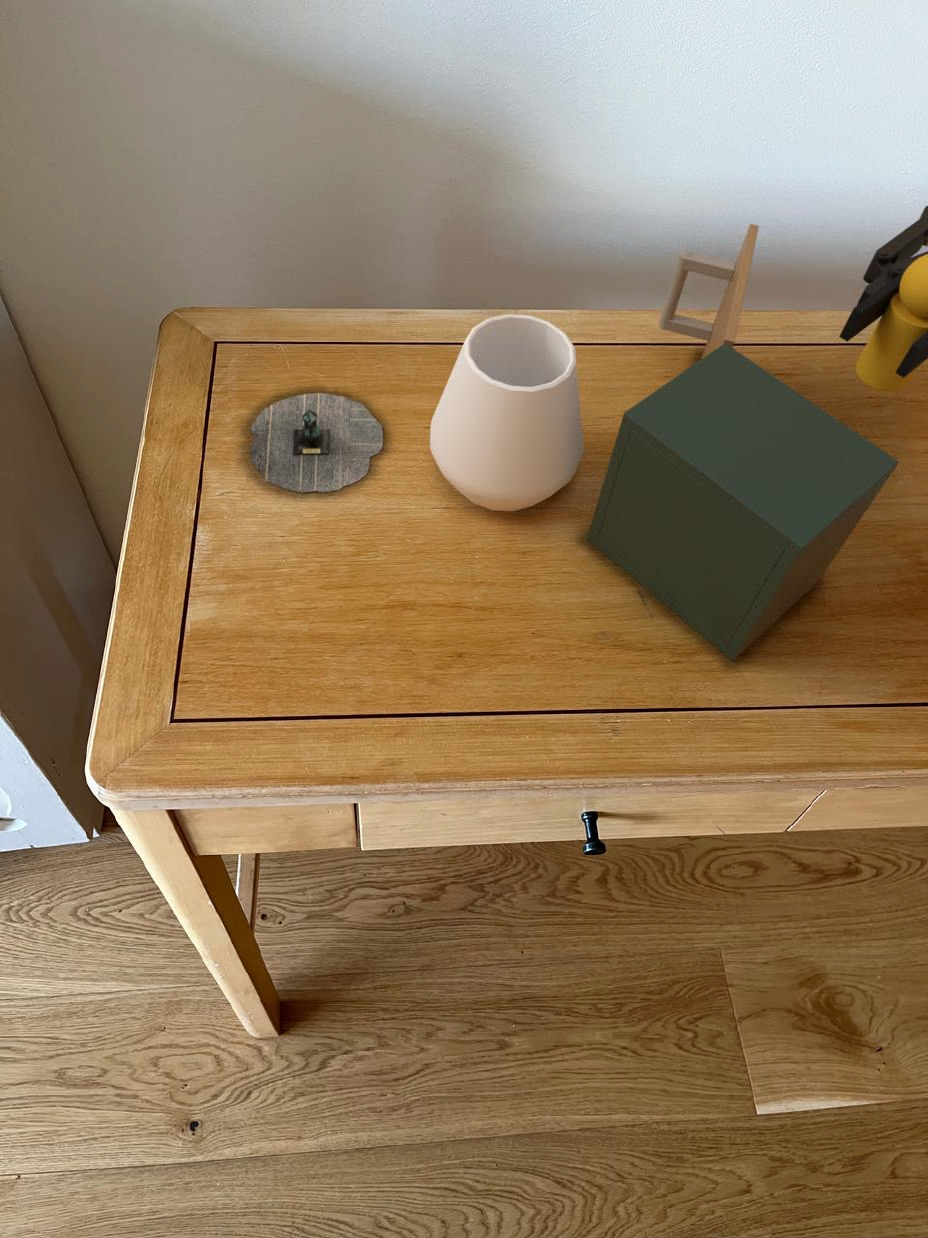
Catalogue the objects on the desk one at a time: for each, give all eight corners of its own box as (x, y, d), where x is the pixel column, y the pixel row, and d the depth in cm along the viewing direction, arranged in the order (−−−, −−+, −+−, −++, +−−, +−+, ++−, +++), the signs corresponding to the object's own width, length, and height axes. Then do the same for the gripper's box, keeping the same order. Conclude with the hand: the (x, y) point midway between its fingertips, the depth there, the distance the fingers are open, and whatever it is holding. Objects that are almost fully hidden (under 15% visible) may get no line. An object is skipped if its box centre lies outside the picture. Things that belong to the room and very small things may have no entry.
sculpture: (291, 515, 79) (248, 429, 76) (263, 505, 87) (224, 427, 84) (408, 454, 83) (372, 369, 80) (371, 450, 91) (337, 373, 88)
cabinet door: (621, 451, 85) (660, 322, 73) (652, 341, 94) (693, 209, 82) (684, 468, 85) (734, 341, 72) (710, 356, 93) (759, 225, 81)
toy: (918, 371, 77) (989, 257, 68) (897, 400, 75) (967, 287, 66) (867, 346, 78) (930, 231, 69) (845, 374, 76) (907, 259, 67)
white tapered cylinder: (397, 481, 82) (398, 359, 70) (481, 396, 88) (495, 271, 76) (525, 556, 78) (549, 440, 67) (602, 461, 85) (637, 341, 73)
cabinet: (674, 472, 85) (725, 342, 72) (818, 581, 79) (899, 461, 66) (586, 539, 80) (623, 412, 67) (732, 661, 74) (802, 548, 61)
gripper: (1094, 316, 79) (954, 444, 69) (919, 217, 85) (768, 322, 76) (1155, 238, 73) (1011, 367, 63) (961, 137, 79) (803, 240, 69)
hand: (879, 342), depth 69 cm, fingers closed on toy, 4 cm apart
